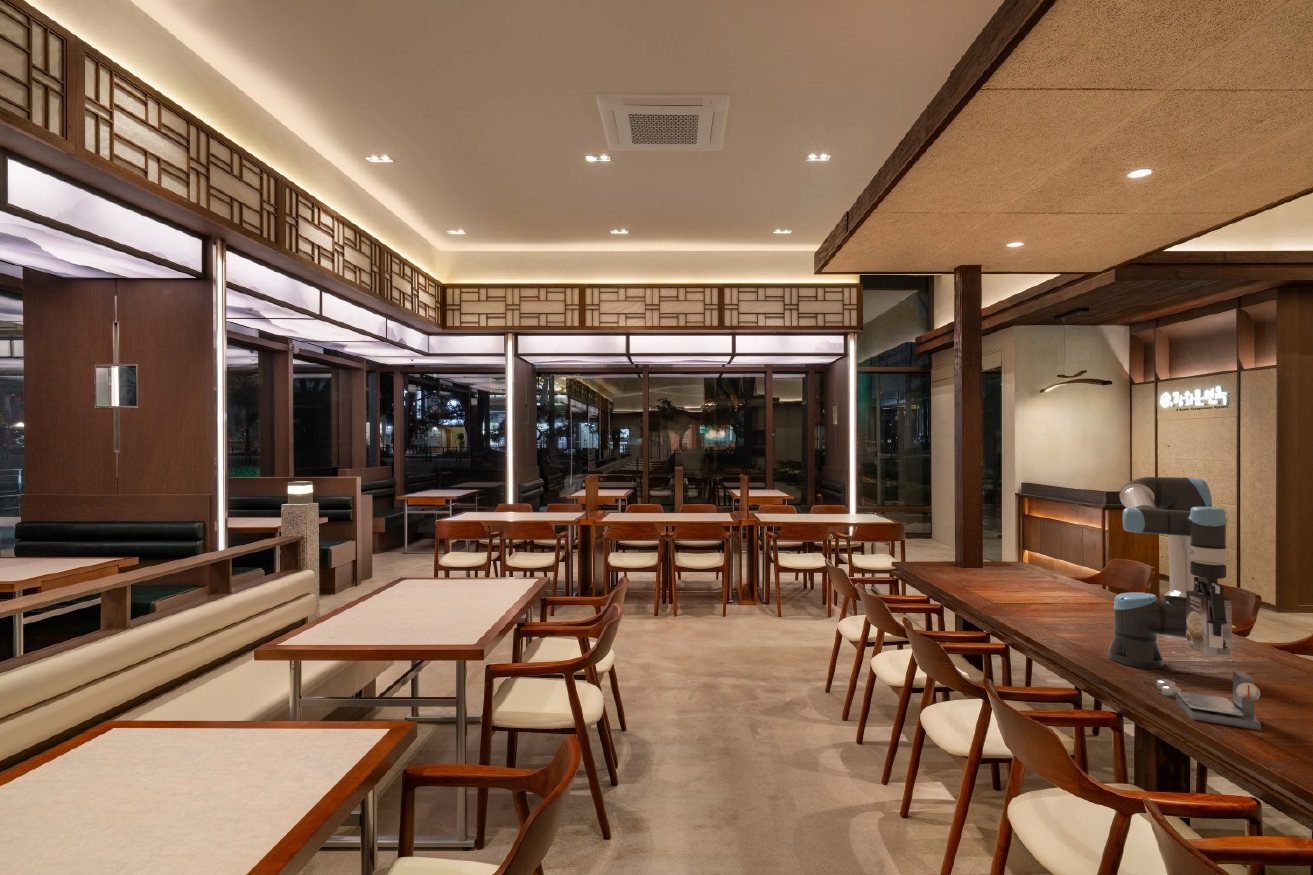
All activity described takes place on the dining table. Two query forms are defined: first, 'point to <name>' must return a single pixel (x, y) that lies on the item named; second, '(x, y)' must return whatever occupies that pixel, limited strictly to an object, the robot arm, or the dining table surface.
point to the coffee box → (1206, 625)
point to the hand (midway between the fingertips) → (1208, 641)
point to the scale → (1225, 704)
